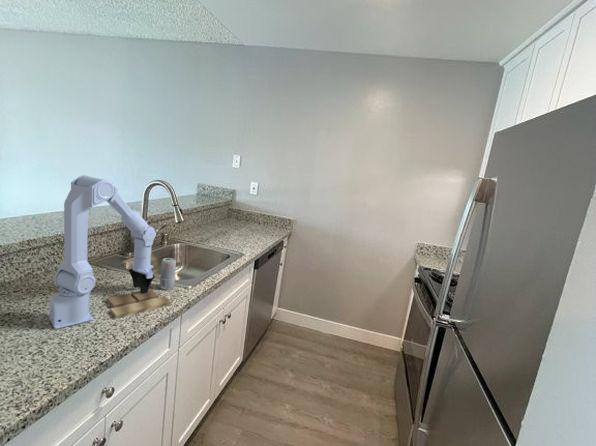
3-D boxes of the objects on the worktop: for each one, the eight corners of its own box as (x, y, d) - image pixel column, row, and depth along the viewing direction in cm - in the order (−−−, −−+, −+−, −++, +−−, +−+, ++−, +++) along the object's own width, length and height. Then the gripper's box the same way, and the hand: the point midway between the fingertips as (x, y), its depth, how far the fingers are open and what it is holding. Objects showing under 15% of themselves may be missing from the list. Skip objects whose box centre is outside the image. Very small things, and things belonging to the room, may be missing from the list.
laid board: (116, 318, 95) (116, 315, 95) (109, 310, 99) (109, 307, 99) (170, 304, 109) (171, 301, 109) (163, 298, 113) (163, 295, 112)
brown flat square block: (113, 308, 100) (114, 305, 100) (106, 301, 105) (106, 297, 104) (136, 303, 106) (136, 300, 105) (128, 296, 110) (128, 293, 110)
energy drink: (170, 284, 126) (172, 257, 124) (176, 288, 122) (178, 260, 120) (157, 286, 121) (159, 258, 119) (163, 291, 118) (165, 262, 116)
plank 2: (138, 302, 106) (139, 299, 106) (131, 295, 111) (131, 292, 110) (158, 298, 112) (158, 295, 111) (150, 291, 116) (150, 288, 116)
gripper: (162, 260, 110) (159, 294, 112) (145, 249, 119) (143, 281, 121) (142, 263, 105) (140, 299, 107) (126, 251, 114) (124, 284, 116)
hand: (140, 289), depth 114 cm, fingers open, 6 cm apart
